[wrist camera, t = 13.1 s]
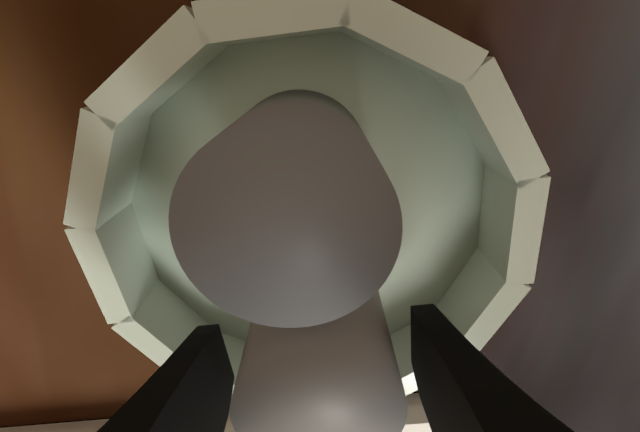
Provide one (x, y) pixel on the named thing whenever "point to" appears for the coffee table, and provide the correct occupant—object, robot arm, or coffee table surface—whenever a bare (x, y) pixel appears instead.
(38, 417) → the coffee table surface
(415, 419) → the parts tray
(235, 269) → the pebble
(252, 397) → the pebble
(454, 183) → the celadon bowl
